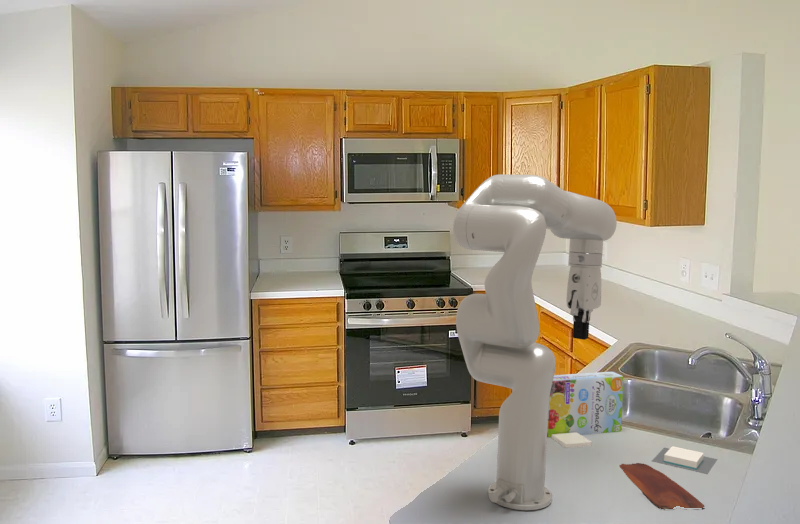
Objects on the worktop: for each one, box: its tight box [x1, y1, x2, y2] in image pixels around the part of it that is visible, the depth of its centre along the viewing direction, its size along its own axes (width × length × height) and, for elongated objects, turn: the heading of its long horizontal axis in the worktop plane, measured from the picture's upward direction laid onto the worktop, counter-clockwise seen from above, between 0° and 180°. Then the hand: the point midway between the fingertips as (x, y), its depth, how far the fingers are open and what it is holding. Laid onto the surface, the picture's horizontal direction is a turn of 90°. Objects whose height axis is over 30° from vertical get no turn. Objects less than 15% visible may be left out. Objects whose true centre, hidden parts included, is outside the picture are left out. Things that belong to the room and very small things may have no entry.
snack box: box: [547, 371, 625, 438], centre depth 181 cm, size 21×6×15 cm, turn 107°
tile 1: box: [551, 432, 593, 449], centre depth 174 cm, size 7×7×2 cm
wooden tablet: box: [618, 462, 705, 510], centre depth 152 cm, size 27×10×2 cm, turn 6°
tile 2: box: [664, 445, 705, 470], centre depth 163 cm, size 2×7×7 cm
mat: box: [651, 447, 718, 475], centre depth 164 cm, size 11×12×1 cm
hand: (580, 338), depth 166 cm, fingers closed
